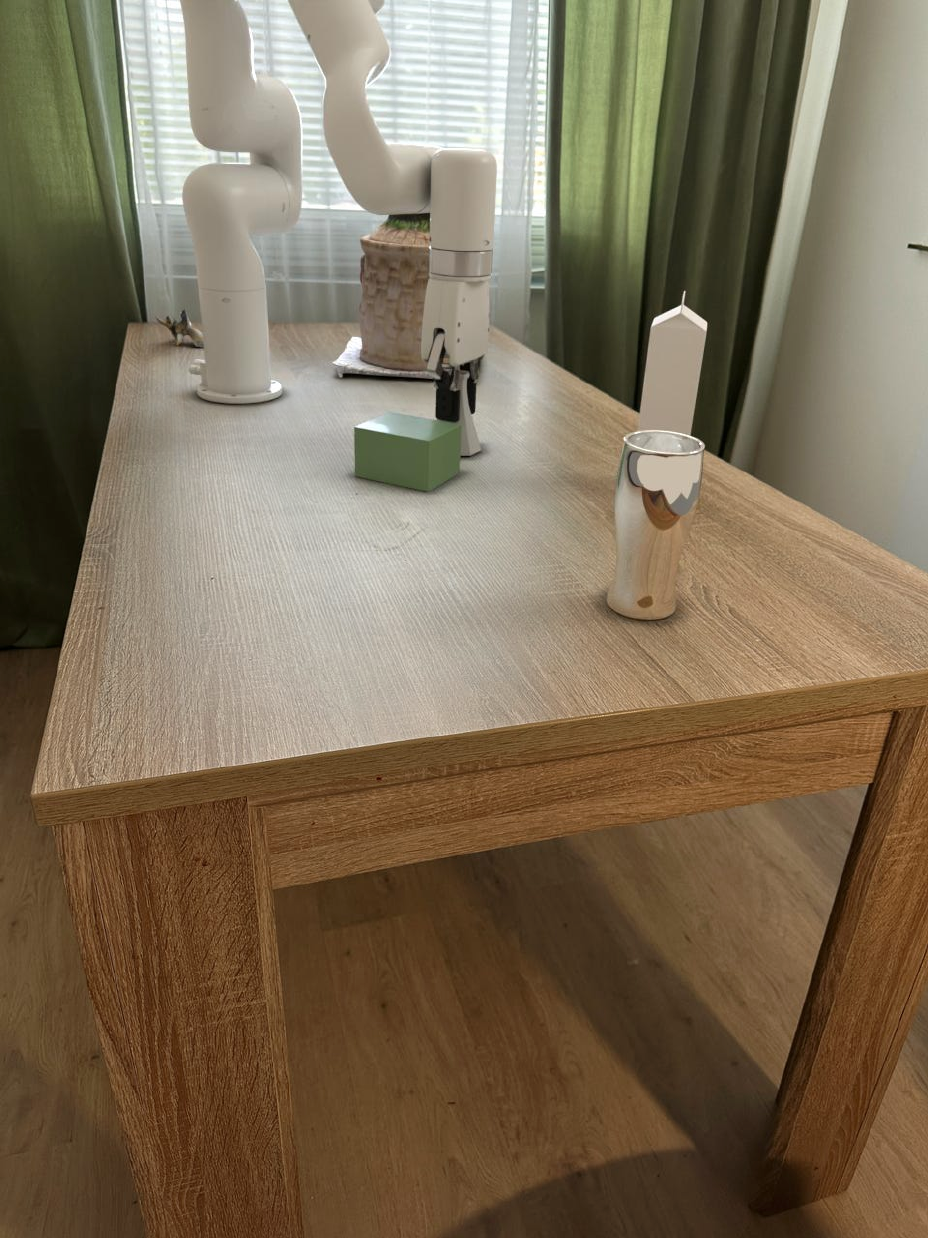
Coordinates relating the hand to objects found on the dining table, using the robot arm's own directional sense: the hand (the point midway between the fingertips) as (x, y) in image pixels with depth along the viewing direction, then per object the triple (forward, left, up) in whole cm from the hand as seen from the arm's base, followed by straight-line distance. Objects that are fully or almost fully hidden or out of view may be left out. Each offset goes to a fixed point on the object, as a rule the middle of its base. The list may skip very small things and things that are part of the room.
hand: (455, 414), depth 118 cm
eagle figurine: (-71, +29, -5) cm, 77 cm away
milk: (+27, +1, -5) cm, 27 cm away
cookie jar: (-29, +39, -5) cm, 49 cm away
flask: (0, 0, -5) cm, 5 cm away
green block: (0, -12, -5) cm, 13 cm away
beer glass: (+35, -31, -5) cm, 47 cm away
